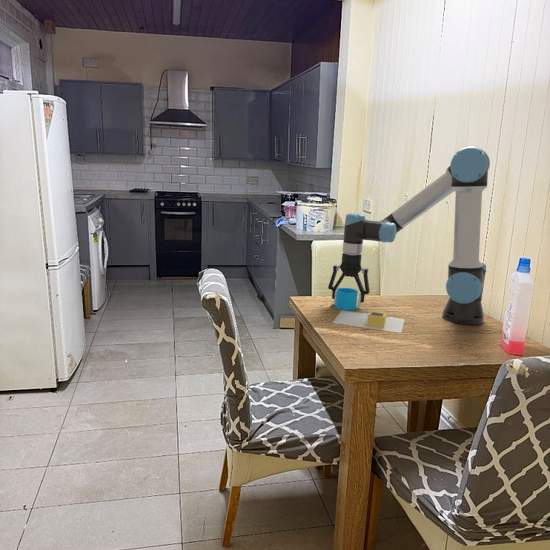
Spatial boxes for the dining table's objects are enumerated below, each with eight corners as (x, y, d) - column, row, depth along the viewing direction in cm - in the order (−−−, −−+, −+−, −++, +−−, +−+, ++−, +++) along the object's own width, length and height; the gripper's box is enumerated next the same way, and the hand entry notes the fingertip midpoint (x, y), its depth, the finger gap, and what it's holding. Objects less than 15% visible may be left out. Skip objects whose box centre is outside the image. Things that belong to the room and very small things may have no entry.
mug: (351, 314, 197) (353, 294, 195) (332, 310, 200) (333, 290, 198) (361, 307, 207) (363, 288, 205) (343, 303, 211) (344, 284, 209)
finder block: (385, 323, 184) (387, 311, 183) (383, 328, 178) (385, 316, 177) (369, 320, 186) (370, 309, 185) (366, 325, 180) (368, 313, 179)
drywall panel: (412, 323, 189) (413, 320, 189) (409, 337, 174) (409, 334, 173) (333, 312, 198) (334, 309, 198) (324, 324, 182) (324, 321, 182)
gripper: (381, 254, 199) (375, 309, 204) (327, 248, 205) (322, 302, 210) (378, 257, 192) (372, 314, 197) (322, 251, 198) (318, 307, 203)
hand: (347, 308), depth 204 cm, fingers open, 9 cm apart
